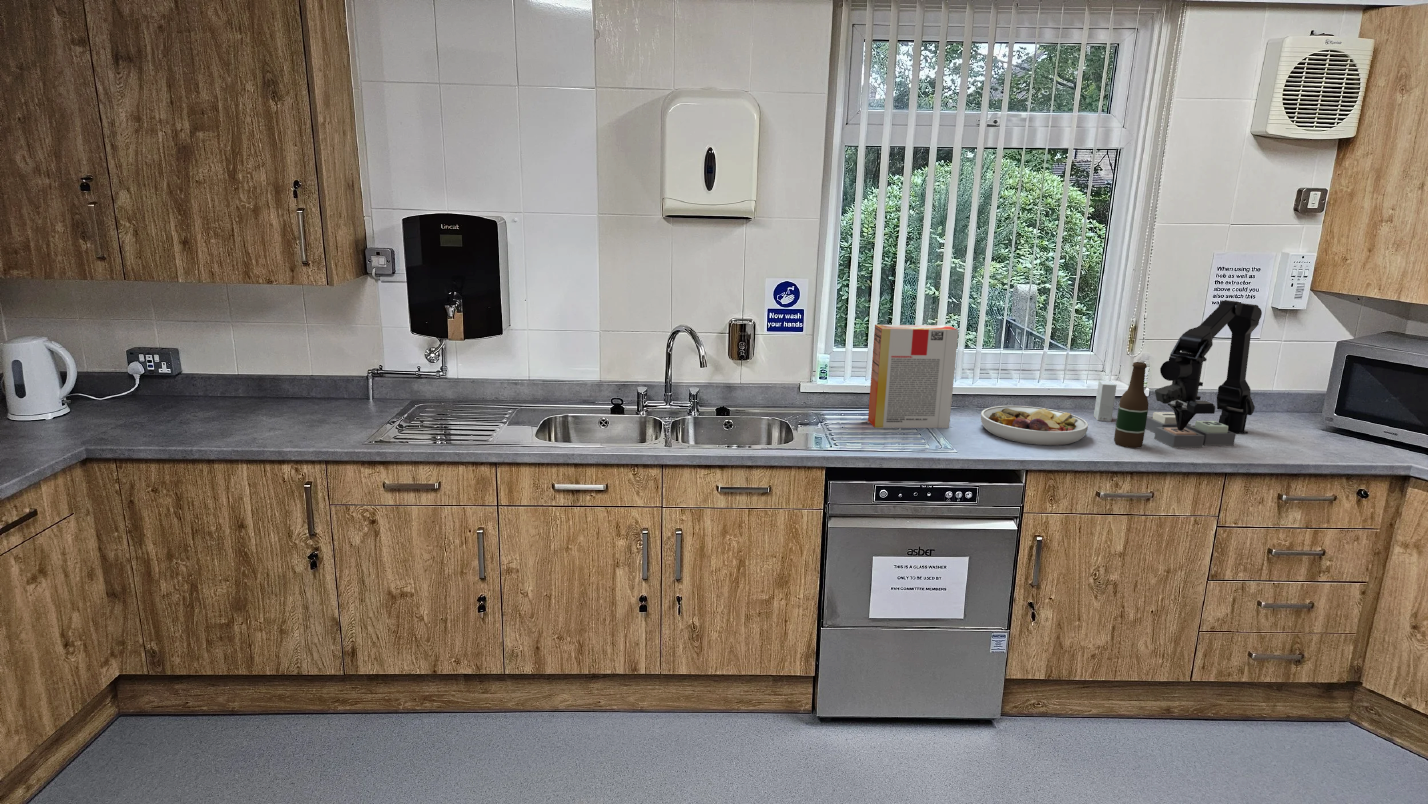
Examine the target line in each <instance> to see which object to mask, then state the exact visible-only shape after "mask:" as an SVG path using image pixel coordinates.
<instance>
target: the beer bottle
mask: <svg viewBox="0 0 1428 804" xmlns="http://www.w3.org/2000/svg"><path fill="white" fill-rule="evenodd" d="M1131 366H1132V372H1131V376H1130V381H1129V383H1128V388H1127V389H1126V391H1124V393H1123V394H1122V395H1121V397H1120V399H1119V403H1118V409H1117V416H1116V423H1115V429H1114V436H1113V437H1114V438H1113V441H1114V443H1115V445H1117V446H1119V447H1122V448H1130V449H1138V448H1142V447H1143V443H1144V438H1145V432H1146V429H1145V427H1146V420H1147V417H1148V413H1149V401H1148V400H1149V399H1148V397H1147V395H1146V393H1145V377H1146V369H1147V367H1148V366H1147V363H1146V362H1141V361H1135V362H1133V363H1132V365H1131Z"/></svg>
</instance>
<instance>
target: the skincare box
mask: <svg viewBox="0 0 1428 804" xmlns="http://www.w3.org/2000/svg"><path fill="white" fill-rule="evenodd" d="M1116 390H1117V384H1116V383H1115V382H1114V381H1110V380H1098V383H1097V390H1096V399H1095V405H1094V413H1093V417H1094V418H1095V419H1096V420H1097V421H1099V422H1112V419H1113V412H1114V407H1115V406H1114V405H1115V398H1116Z"/></svg>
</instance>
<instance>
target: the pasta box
mask: <svg viewBox="0 0 1428 804" xmlns="http://www.w3.org/2000/svg"><path fill="white" fill-rule="evenodd" d="M958 338H959V329H958V328H955V327H953V326H951V325H943V324H942V325H941V324H940V325H939V324H938V325H936V324H935V325H933V324H931V325H930V324H928V325H927V324H926V325H925V324H874V332H873V346H872V359H871V360H872V361H871V374H870V375H871V376H870V385H869V387H870V389H869V398H868V399H869V402H868V403H869V404H868V413H867V415H868V416H867V421H868V422H869V423H870V424H871V425H872V427H874V428H881V429H882V428H884V429H885V428H887V429H888V428H889V429H890V428H891V429H893V428H899V429H900V428H904V429H906V428H907V429H910V428H911V429H913V428H914V429H915V428H916V429H919V428H920V429H950V422H951V421H950V419H951V410H952V402H953V401H952V399H953V390H954V379H955V369H956V360H957V359H956V358H957V346H958Z"/></svg>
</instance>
